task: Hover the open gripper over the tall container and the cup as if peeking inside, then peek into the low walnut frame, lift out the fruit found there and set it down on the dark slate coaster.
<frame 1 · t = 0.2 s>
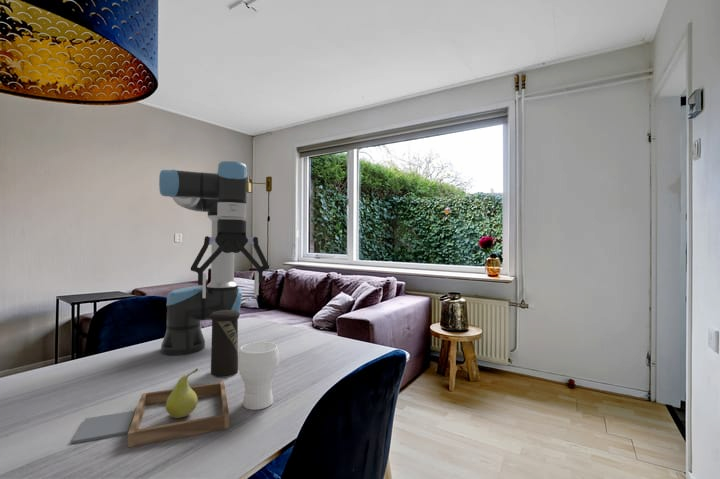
hand: (230, 296, 98), 28 cm above the table, fingers open, 13 cm apart
fruit: (183, 416, 88), resting in walnut frame
cup: (258, 403, 95), on the table
container: (224, 373, 115), on the table
slate coaster: (105, 427, 82), on the table
walnut frame: (183, 415, 88), on the table
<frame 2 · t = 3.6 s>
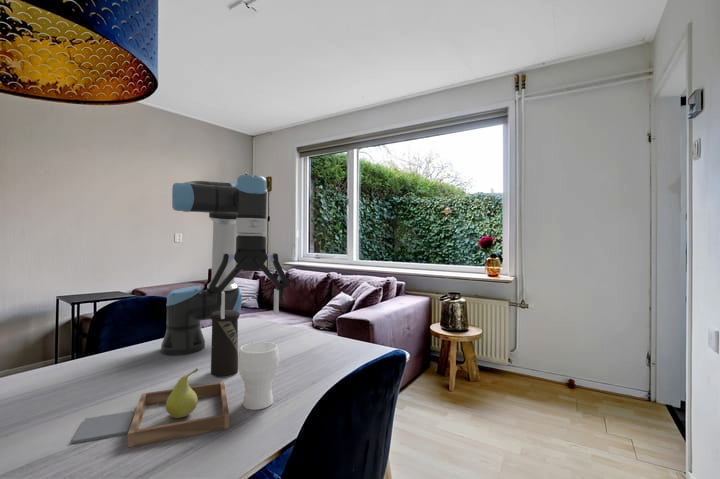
hand: (250, 315, 94), 24 cm above the table, fingers open, 13 cm apart
nothing on the table moved.
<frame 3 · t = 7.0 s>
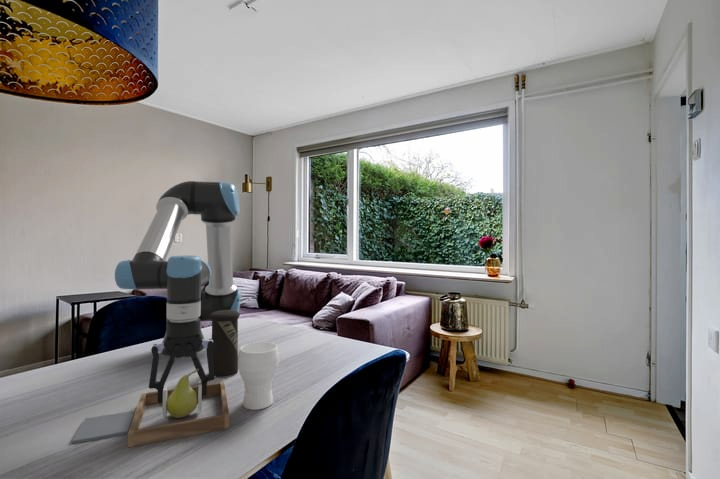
hand: (182, 411, 88), 1 cm above the table, fingers closed on fruit, 7 cm apart
fruit: (183, 416, 88), resting in walnut frame, touching gripper
everything else where it was.
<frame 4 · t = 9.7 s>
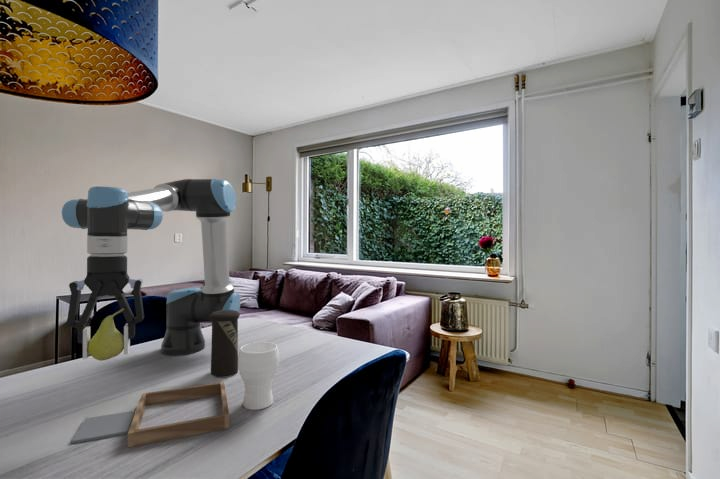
hand: (107, 354, 82), 17 cm above the table, fingers closed on fruit, 7 cm apart
fruit: (108, 360, 82), point 16 cm above the table, touching gripper
everything else where it was.
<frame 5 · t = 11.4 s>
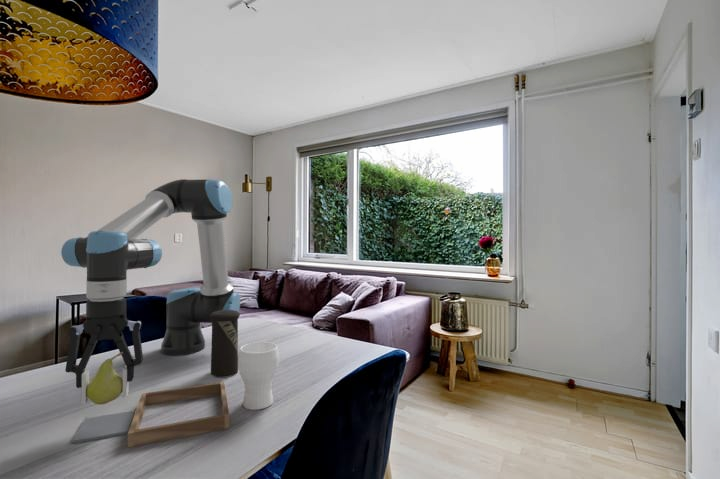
hand: (105, 397, 82), 7 cm above the table, fingers closed on fruit, 7 cm apart
fruit: (107, 403, 82), point 6 cm above the table, touching gripper
everything else where it was.
when the fingers open (3 cm above the table, at t = 12.6 s): fruit drops 1 cm, resting on slate coaster.
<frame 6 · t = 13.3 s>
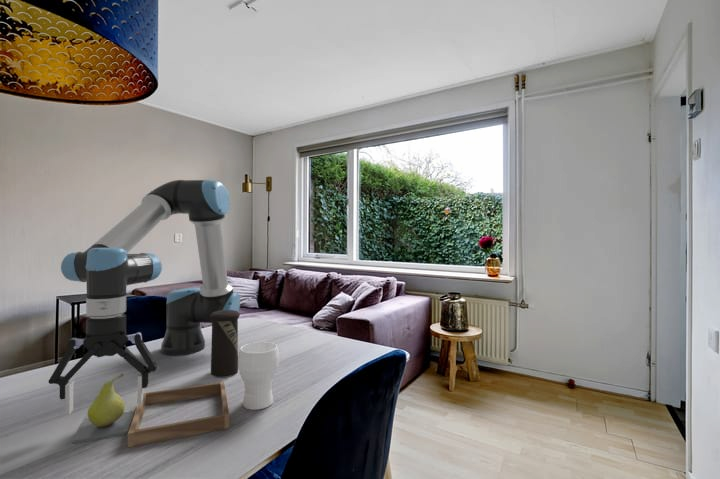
hand: (106, 406, 82), 5 cm above the table, fingers open, 13 cm apart
fruit: (108, 424, 82), resting on slate coaster
everything else where it was.
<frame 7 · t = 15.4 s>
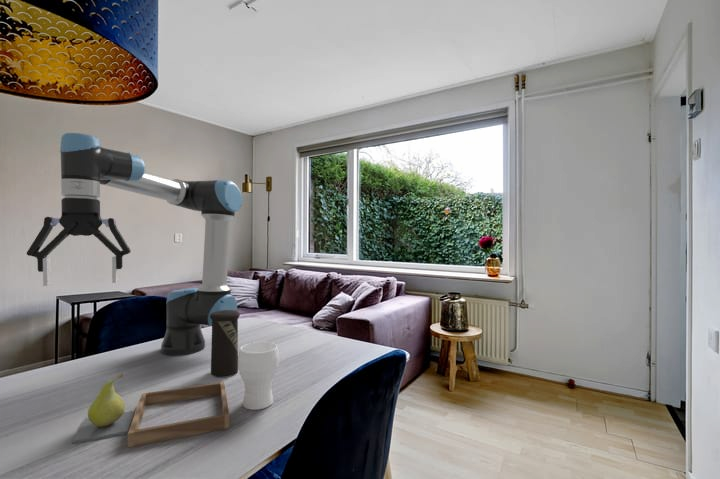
hand: (82, 283, 89), 32 cm above the table, fingers open, 13 cm apart
nothing on the table moved.
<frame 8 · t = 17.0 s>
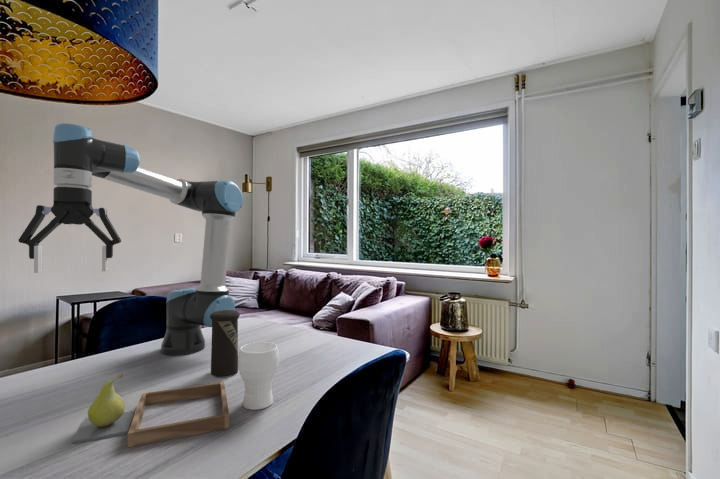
hand: (72, 271, 90), 35 cm above the table, fingers open, 13 cm apart
nothing on the table moved.
at the end: fruit 0.4 cm from the slate coaster (horizontally); fruit resting on slate coaster; fruit tilted 0° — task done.
